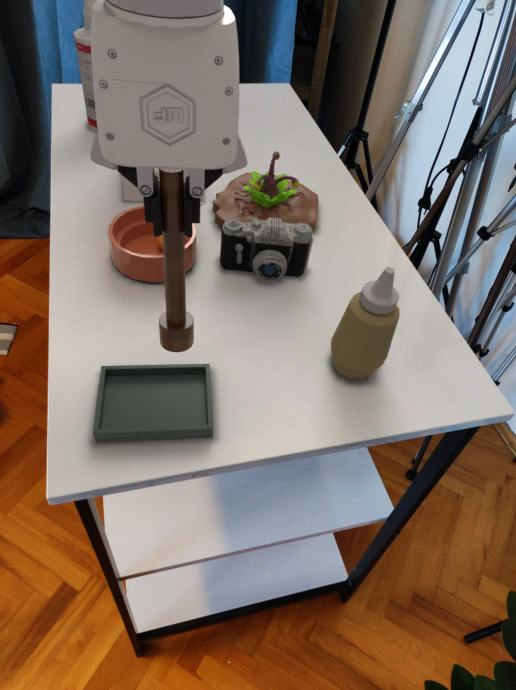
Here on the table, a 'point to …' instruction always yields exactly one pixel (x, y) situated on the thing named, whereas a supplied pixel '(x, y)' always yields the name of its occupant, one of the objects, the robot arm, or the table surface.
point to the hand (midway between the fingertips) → (173, 226)
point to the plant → (266, 199)
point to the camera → (266, 247)
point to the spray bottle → (86, 63)
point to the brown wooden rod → (174, 264)
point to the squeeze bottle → (366, 328)
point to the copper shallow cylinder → (142, 247)
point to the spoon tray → (153, 402)
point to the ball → (159, 242)
